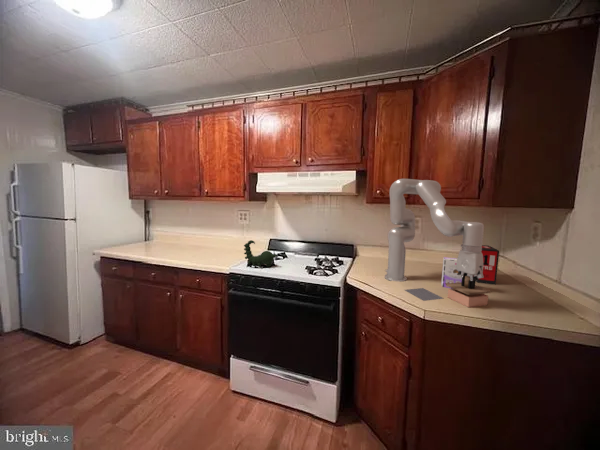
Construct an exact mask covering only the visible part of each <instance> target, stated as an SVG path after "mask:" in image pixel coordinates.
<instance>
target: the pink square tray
mask: <svg viewBox="0 0 600 450" xmlns="http://www.w3.org/2000/svg"><path fill="white" fill-rule="evenodd" d="M447 290H448V291H447V298H448V299H450V300H452V301H453V302H456V303H458V304H460V305H463V306H464V307H465V308H474V307H484V306H488V302H489V295H487V294H477V295H467V294H465V293H463V292H460V291H458V290H456V289H453V288H447Z"/></svg>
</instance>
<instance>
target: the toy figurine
mask: <svg viewBox="0 0 600 450" xmlns="http://www.w3.org/2000/svg"><path fill="white" fill-rule="evenodd" d="M251 244H253V245H256V242H255V241H254V240H247V243H245V244H244V245H243V247H244V248H243V250H244V251H245V252H244V253H243V254H244V255H246V256H245V257H244V259H245V260H248V262H247V263H248V264H249V265H250V264H252V266H253V267H256V266H258V267H261V266H262V265H265V266H266V267H267V268H270V267H271V266H272V263H273V261H274V258H275V257H277V254H274V253H272V252H271V251H269V250H265V251H262V252H261V254H258V255H254V254H253V253H252V250H251Z"/></svg>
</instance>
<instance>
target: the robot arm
mask: <svg viewBox="0 0 600 450" xmlns="http://www.w3.org/2000/svg"><path fill="white" fill-rule="evenodd" d="M441 191H442V185H441V184H440V182H438V180H437V181H436V180H432V179H431V180H429V179H423V180H422V179H414V178H413V179H412V178H398V179H396V180H395V181H394V182H392V183H391V185H390V187H389V214H390V215H389V216H390V217H389V218H390V222H391V224H393V225H395V226H396V227H393V228H391V229H390V230H389V231H388V232H387V240H388V255H387V256H388V257H387V269H385V270H384V271H385V272H386V274H385V275H384V278H385V280H387V281H390V282H392V281H393V282H400V283H402V282H406V281H407V280H408V278H407V277H406V276H405V271H406V253H407V252H406V246H405V243H409V242H411V241H413V240H414V238H415V237H416V216H415V213H414V211H413V210H411V209H410V208H407V207H406V203H407V201H406V198H405V196H404V195H405V194H406V195H418V196H419V197H420V198H421V199H422V201H423V203H424V204H425V205H426V206H427V208H428V209H429V213H430V217H431V221H432V222H433V224H434V225H435V227H436V228H437V229H438V230H437V231H439V232H440V233H441V234H442V235H443V236H445V237H448V238H449V237H458V236H462V240H461V241H462V243H461V244H460V248H461V249H460V250H459V251H458V255H457V257H456V258H457V264H456V270H457V271H458V272H459V273H460V275H461V277H462V283H461V286H464V283H465V276H468V274H470V280H469V283H468V288H469V289H474V288H475V285H476V281H477V279H479V278H484V276H483V254H482V253H481V251H482V245H483V242H484V241H483V240H484V232H485V231H484V229H485V225H484V223H482V222H478V221H466V220H465V221H464V220H459V219H455V220H454V219H453V220H452V219H451V218H450V217H449V215H448V214H447V212H446V210H445V206H446V204H447V200H446V198H445V197H444V196H443V195H442V193H441ZM399 225H400V226H399ZM397 226H398V227H397ZM477 274H478V276H477ZM473 275H474V277H473Z"/></svg>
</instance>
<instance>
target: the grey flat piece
mask: <svg viewBox="0 0 600 450" xmlns="http://www.w3.org/2000/svg"><path fill="white" fill-rule="evenodd" d="M404 291H405V292H407V293H408V294H410V295H412V296H414V297H416V298H418V299H419V300H421V301H423V302H425V301H435V300H443V299H445V298H444V297H442V296H441V295H438V294H436V293H434V292H432V291H429V290H427V289H426V288H424V287H420V288H409V289H404Z"/></svg>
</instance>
